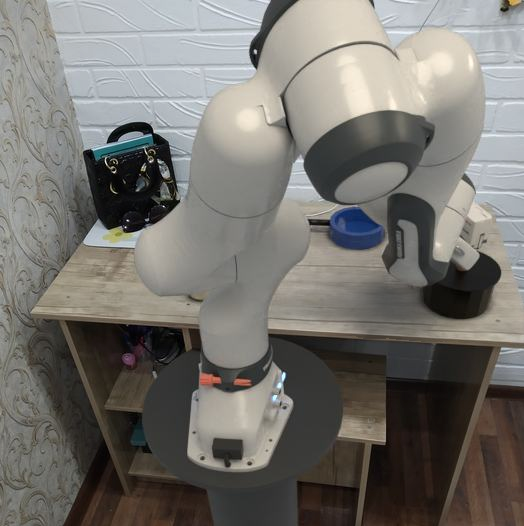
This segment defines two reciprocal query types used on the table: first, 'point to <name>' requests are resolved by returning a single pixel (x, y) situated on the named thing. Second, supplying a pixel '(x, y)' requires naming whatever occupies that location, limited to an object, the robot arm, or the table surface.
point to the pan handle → (319, 222)
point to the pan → (355, 229)
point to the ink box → (476, 227)
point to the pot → (456, 301)
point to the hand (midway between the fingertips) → (446, 249)
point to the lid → (472, 275)
